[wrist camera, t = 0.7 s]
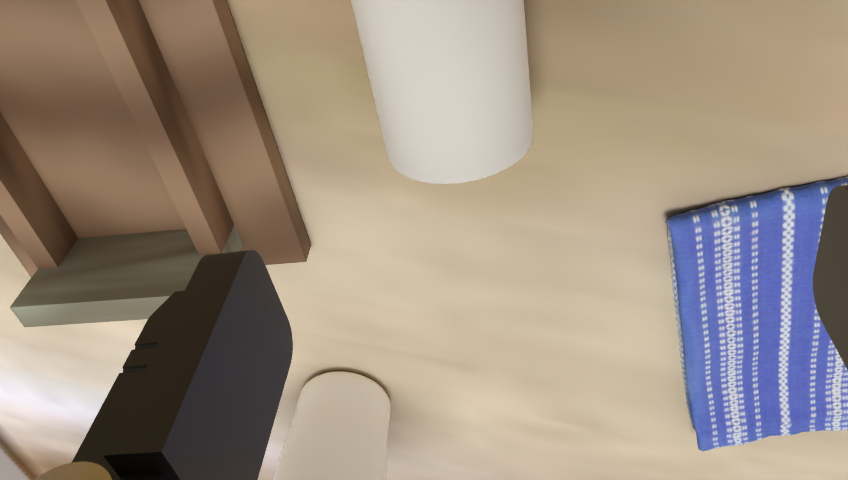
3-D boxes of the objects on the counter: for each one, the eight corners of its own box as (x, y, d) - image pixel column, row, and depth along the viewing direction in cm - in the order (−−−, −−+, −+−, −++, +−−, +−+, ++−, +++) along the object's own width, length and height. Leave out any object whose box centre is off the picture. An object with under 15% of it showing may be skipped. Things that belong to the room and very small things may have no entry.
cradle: (-234, -149, 24) (-392, -104, 20) (148, -225, 22) (64, -193, 17) (46, 266, 36) (-14, 350, 31) (311, 245, 33) (285, 332, 29)
